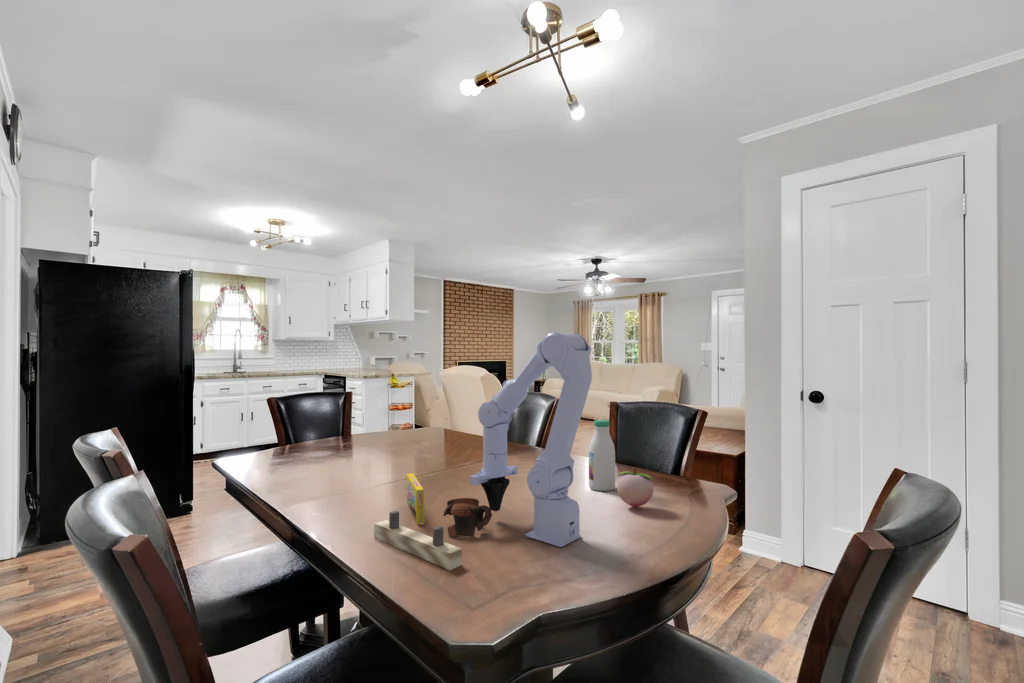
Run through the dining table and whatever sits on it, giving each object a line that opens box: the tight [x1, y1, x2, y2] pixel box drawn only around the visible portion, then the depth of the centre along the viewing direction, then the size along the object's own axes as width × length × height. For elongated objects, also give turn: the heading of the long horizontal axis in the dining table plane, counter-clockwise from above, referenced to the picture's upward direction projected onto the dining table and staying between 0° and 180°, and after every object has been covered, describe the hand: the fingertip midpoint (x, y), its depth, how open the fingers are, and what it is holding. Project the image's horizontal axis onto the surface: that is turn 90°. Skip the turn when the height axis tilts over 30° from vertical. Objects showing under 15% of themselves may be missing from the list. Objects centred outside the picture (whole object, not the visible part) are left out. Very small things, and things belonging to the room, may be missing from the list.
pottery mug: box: [443, 497, 493, 537], centre depth 107 cm, size 12×10×8 cm
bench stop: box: [373, 510, 463, 571], centre depth 96 cm, size 24×3×6 cm, turn 49°
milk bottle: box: [588, 419, 616, 492], centre depth 142 cm, size 8×8×20 cm
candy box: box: [405, 472, 426, 525], centre depth 118 cm, size 16×2×8 cm, turn 21°
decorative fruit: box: [616, 468, 655, 509], centre depth 123 cm, size 9×8×10 cm
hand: (494, 509), depth 113 cm, fingers closed
